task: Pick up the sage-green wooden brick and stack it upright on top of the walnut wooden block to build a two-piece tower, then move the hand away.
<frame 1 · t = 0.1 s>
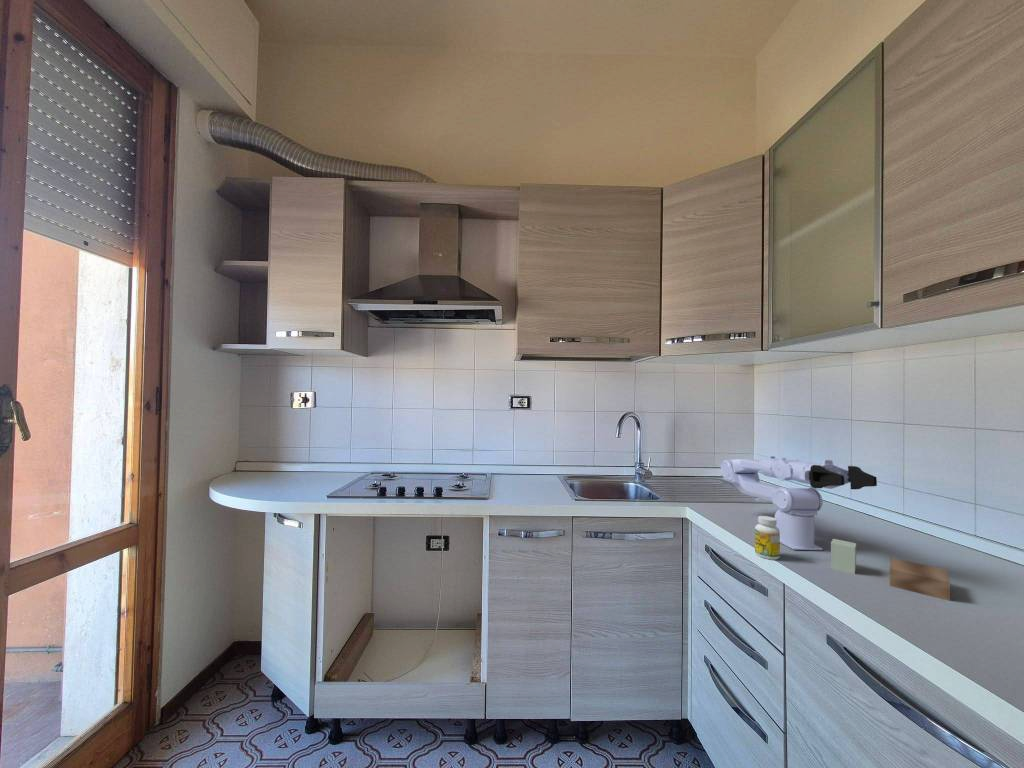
hand: (859, 480, 95), 22 cm above the worktop, tool horizontal, fingers open, 7 cm apart
sage brick: (843, 568, 99), on the worktop
walnut block: (918, 587, 90), on the worktop
supplement bottle: (767, 556, 105), on the worktop
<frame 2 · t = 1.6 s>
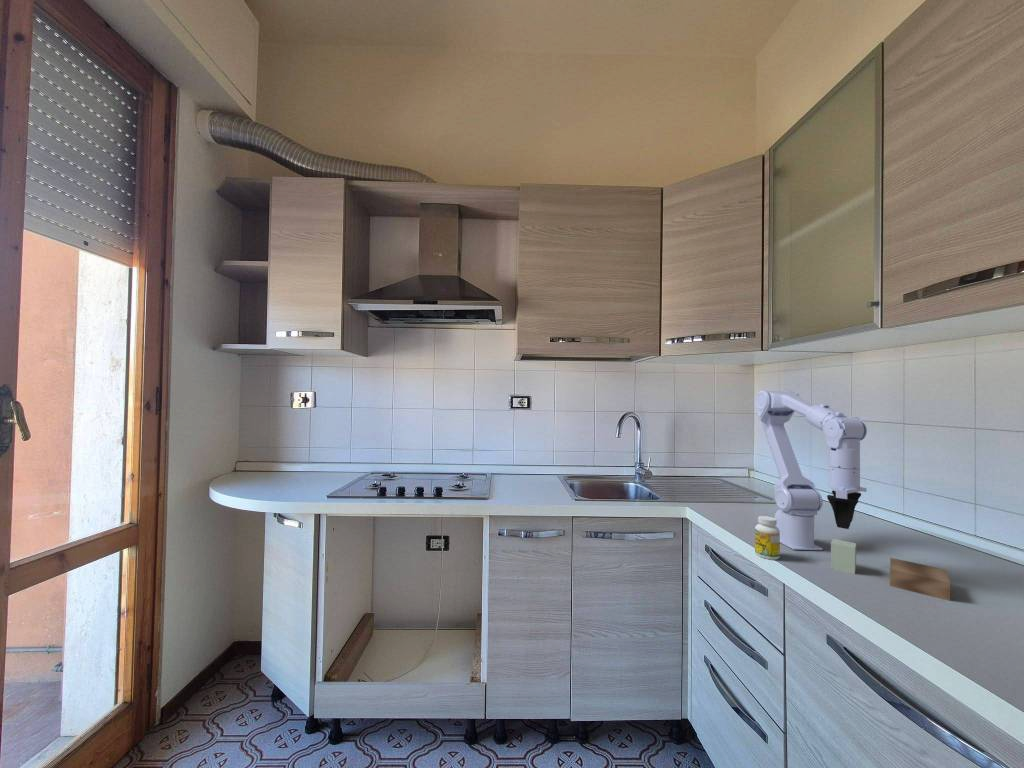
hand: (844, 524, 99), 10 cm above the worktop, tool pointing down, fingers open, 7 cm apart
nothing on the worktop moved.
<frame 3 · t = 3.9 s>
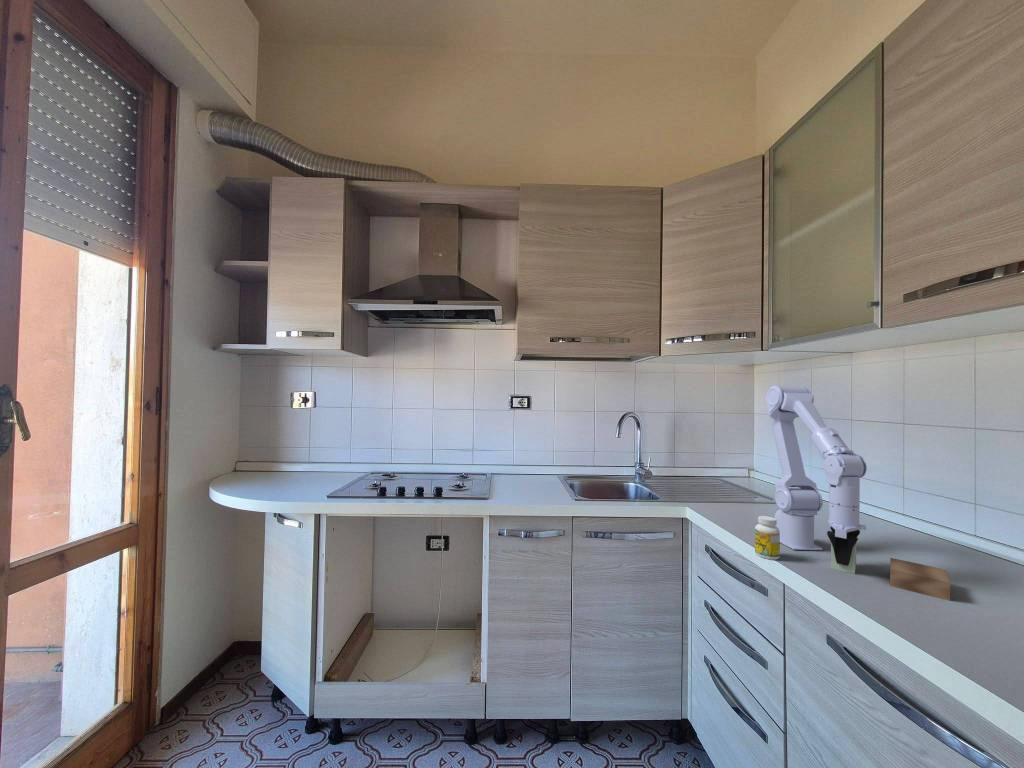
hand: (843, 561, 99), 2 cm above the worktop, tool pointing down, fingers closed on sage brick, 4 cm apart
sage brick: (843, 568, 99), on the worktop, touching gripper
everything else where it was.
when the fingers open (7 cm above the worktop, at t = 10.2 s): sage brick drops 2 cm, resting on walnut block.
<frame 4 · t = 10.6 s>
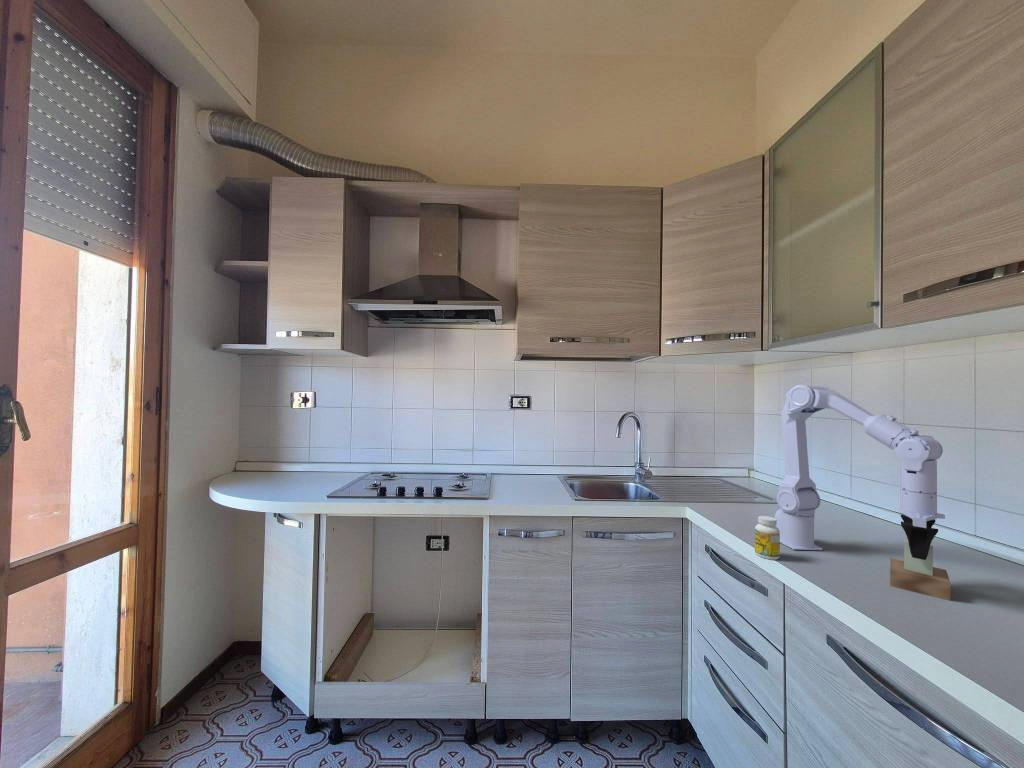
hand: (918, 553, 90), 7 cm above the worktop, tool pointing down, fingers open, 7 cm apart
sage brick: (918, 569, 90), point 4 cm above the worktop, touching walnut block
walnut block: (918, 588, 90), on the worktop, touching sage brick
everything else where it was.
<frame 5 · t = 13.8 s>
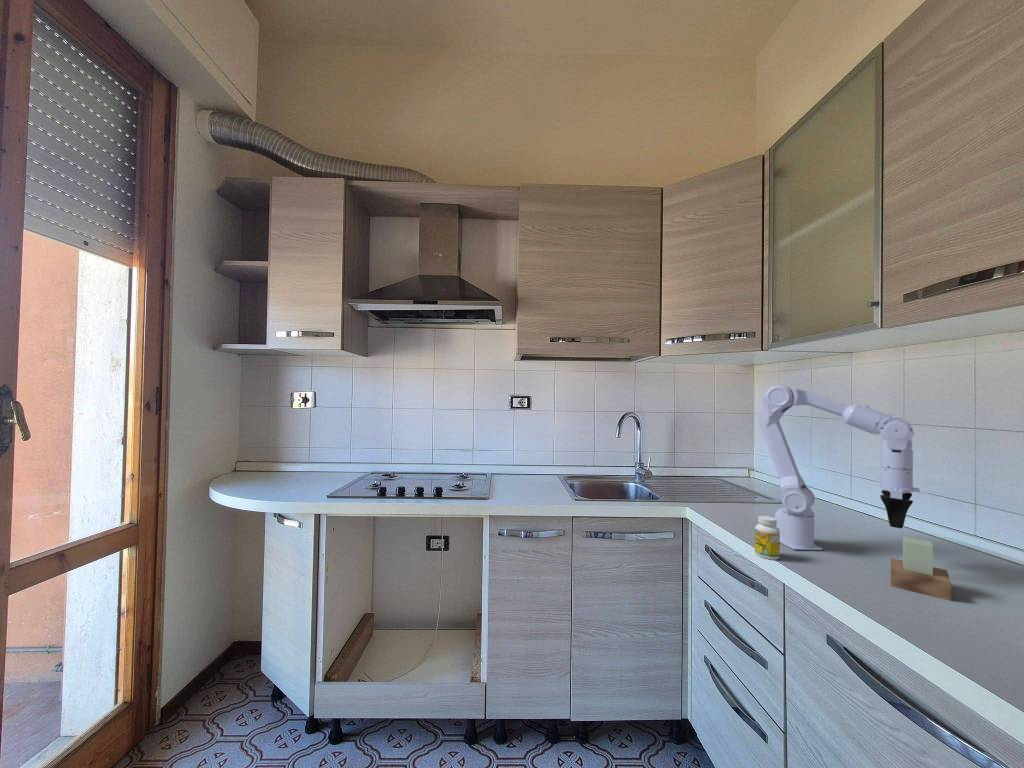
hand: (896, 523, 101), 10 cm above the worktop, tool pointing down, fingers open, 7 cm apart
nothing on the worktop moved.
at the end: sage brick 0.2 cm off-centre on the walnut block, point 4.0 cm above the walnut block's base; sage brick tilted 1°; the gripper is holding nothing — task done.
